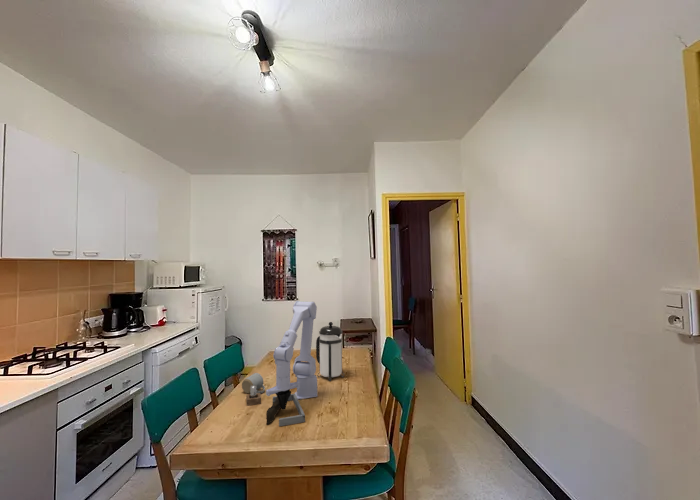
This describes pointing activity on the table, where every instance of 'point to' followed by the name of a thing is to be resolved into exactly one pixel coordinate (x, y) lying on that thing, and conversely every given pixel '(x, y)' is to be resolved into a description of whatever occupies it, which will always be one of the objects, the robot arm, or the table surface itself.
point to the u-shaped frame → (292, 419)
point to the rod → (253, 391)
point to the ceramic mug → (253, 383)
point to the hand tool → (272, 411)
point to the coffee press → (329, 351)
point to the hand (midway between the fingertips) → (283, 408)
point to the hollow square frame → (253, 399)
